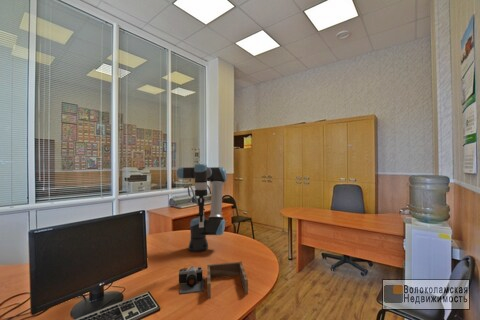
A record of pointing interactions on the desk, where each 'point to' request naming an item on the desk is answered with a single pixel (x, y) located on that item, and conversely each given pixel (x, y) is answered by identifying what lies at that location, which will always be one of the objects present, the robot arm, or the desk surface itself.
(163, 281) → the desk surface
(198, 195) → the robot arm
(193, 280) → the camera
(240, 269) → the cubby
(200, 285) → the mat
